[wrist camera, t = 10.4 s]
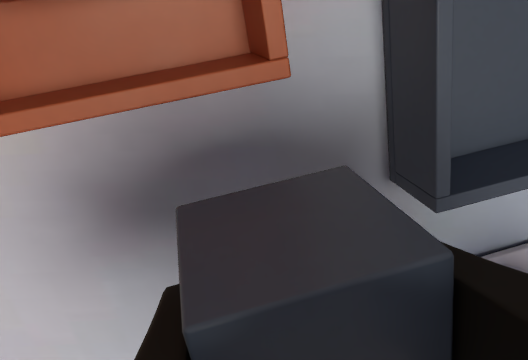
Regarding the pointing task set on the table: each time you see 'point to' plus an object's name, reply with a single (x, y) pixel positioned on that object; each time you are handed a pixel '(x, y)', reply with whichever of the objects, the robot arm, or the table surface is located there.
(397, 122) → the slate bin
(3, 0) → the terracotta block
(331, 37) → the table surface
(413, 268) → the slate block
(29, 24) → the terracotta bin
